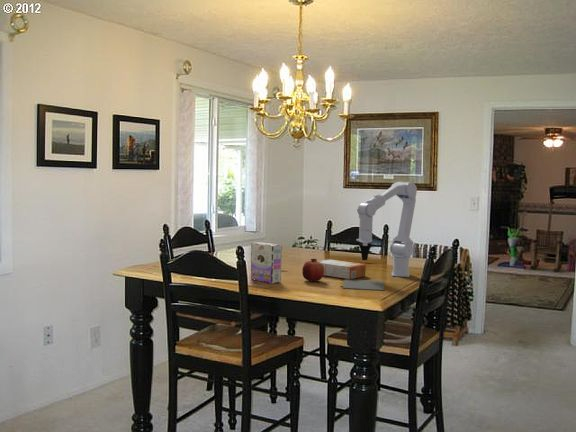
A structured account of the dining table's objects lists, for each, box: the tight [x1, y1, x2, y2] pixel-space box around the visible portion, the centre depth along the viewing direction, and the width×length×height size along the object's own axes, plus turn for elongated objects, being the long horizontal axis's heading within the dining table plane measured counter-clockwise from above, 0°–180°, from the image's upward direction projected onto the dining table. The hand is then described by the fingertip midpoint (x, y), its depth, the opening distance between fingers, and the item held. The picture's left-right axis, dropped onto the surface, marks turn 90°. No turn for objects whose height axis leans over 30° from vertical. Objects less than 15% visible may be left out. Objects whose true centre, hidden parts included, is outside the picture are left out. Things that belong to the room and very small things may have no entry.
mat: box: [342, 278, 385, 292], centre depth 261 cm, size 20×17×1 cm
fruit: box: [301, 258, 325, 282], centre depth 266 cm, size 11×10×10 cm
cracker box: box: [317, 259, 367, 280], centre depth 283 cm, size 14×6×21 cm
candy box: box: [250, 241, 283, 285], centre depth 263 cm, size 14×6×16 cm, turn 44°
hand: (364, 260), depth 273 cm, fingers closed
